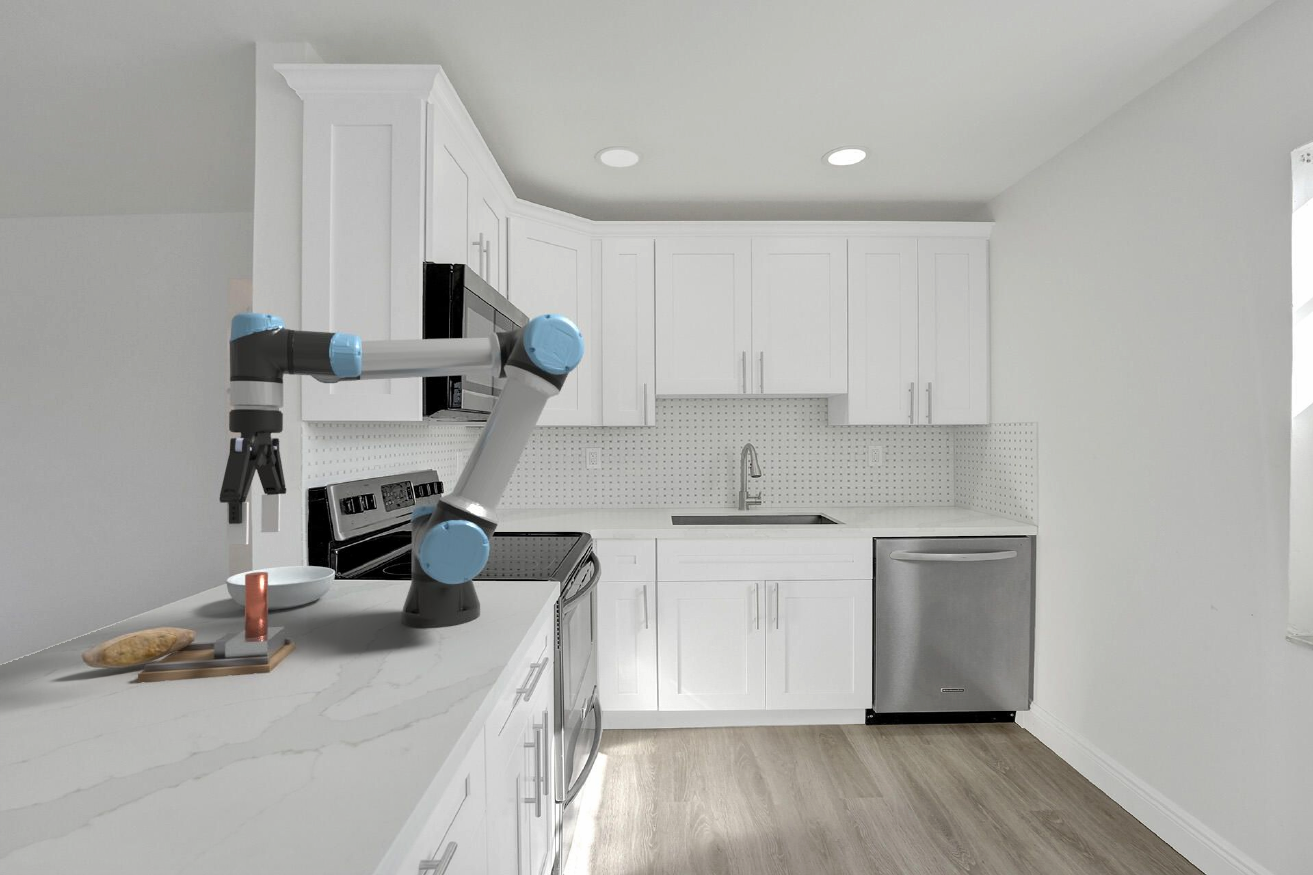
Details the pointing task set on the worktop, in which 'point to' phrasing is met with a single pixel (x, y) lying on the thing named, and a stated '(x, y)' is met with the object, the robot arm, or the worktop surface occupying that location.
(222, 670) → the railed wooden base plate
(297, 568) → the serving bowl
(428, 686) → the worktop surface
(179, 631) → the tan elongated oval piece
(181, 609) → the worktop surface
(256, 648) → the copper peg on base
